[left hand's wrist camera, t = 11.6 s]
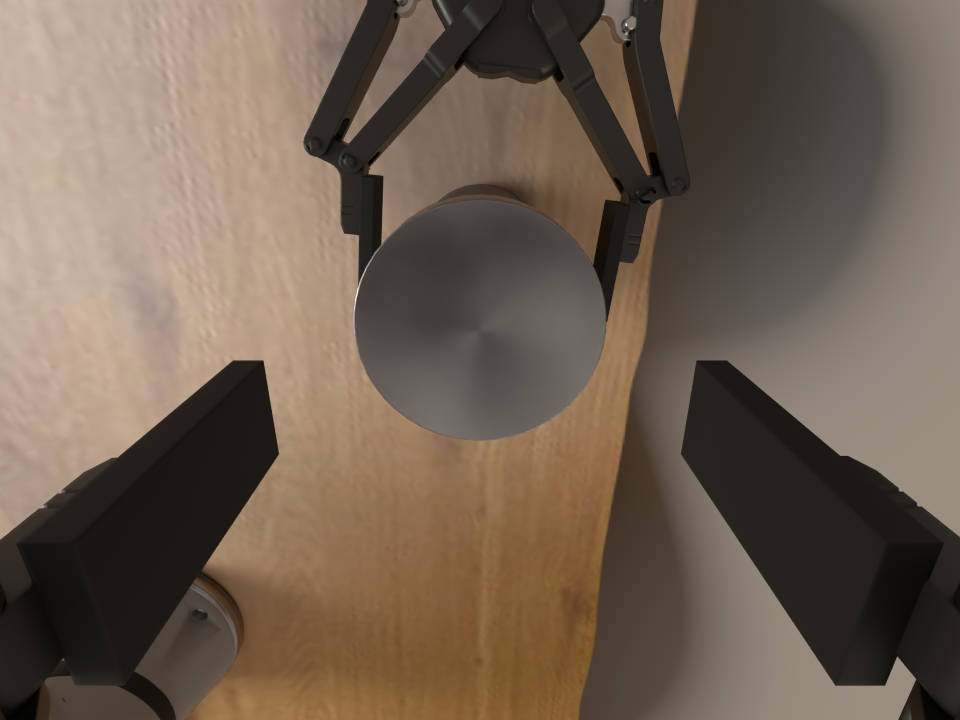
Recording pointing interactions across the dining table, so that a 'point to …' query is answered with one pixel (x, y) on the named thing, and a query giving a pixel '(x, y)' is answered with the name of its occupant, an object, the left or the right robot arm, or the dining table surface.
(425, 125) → the dining table surface
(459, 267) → the lid
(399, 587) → the dining table surface
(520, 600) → the dining table surface
